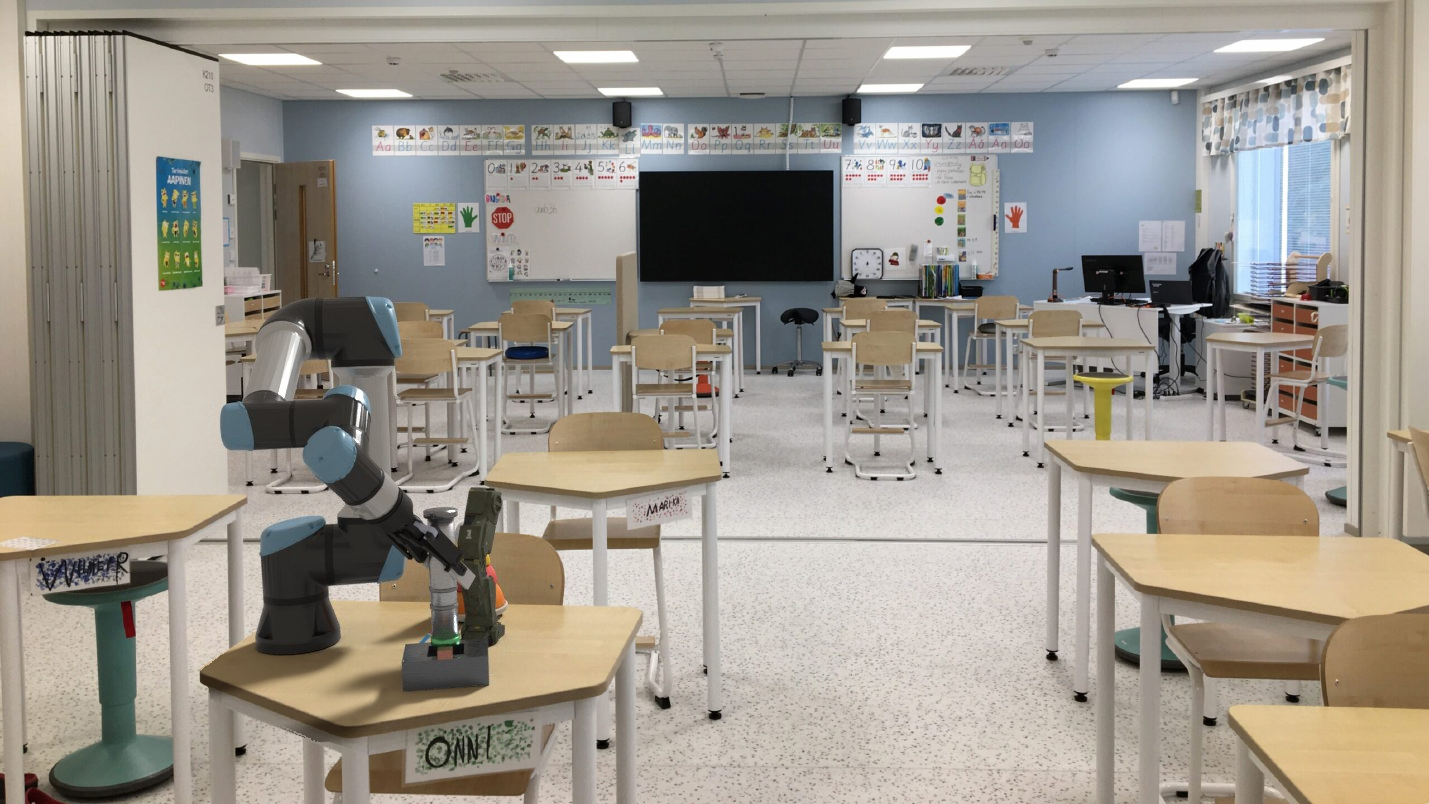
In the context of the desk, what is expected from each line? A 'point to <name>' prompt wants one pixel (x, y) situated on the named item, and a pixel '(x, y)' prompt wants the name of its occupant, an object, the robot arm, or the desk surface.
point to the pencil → (426, 637)
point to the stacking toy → (500, 601)
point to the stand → (445, 665)
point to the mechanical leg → (480, 564)
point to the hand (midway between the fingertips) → (459, 580)
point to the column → (443, 584)
